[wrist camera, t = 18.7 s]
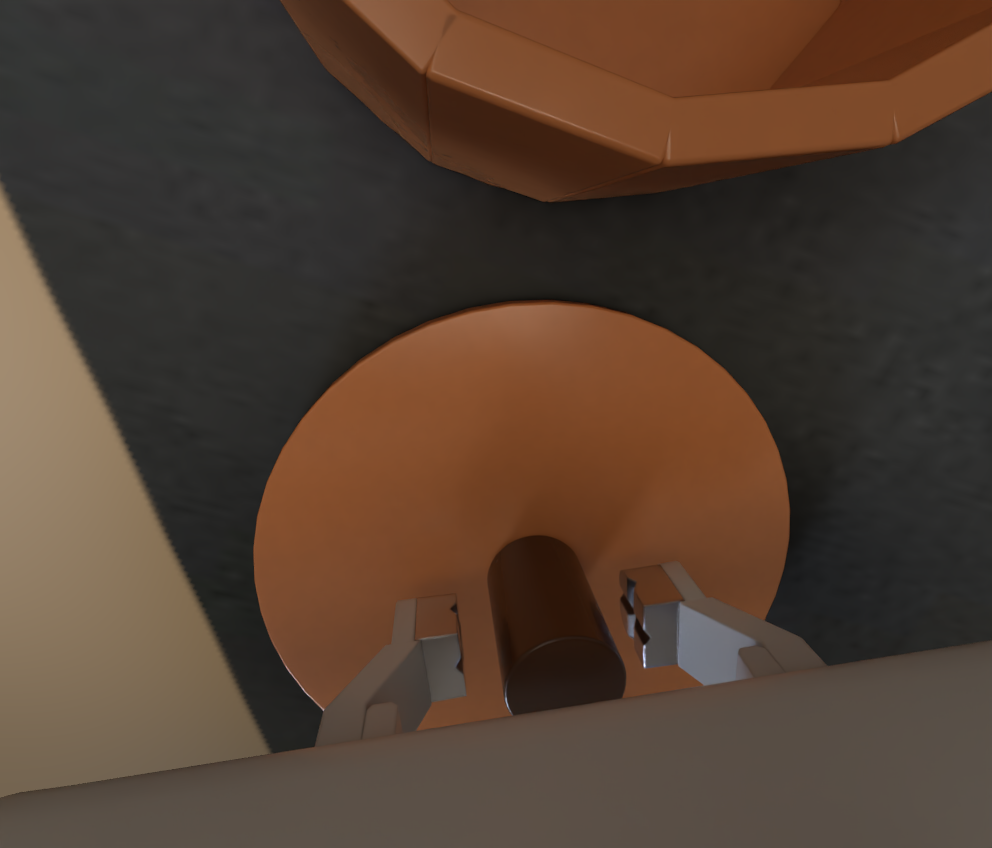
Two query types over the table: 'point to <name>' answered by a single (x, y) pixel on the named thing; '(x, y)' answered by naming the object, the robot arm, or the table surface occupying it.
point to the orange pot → (649, 82)
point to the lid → (517, 503)
